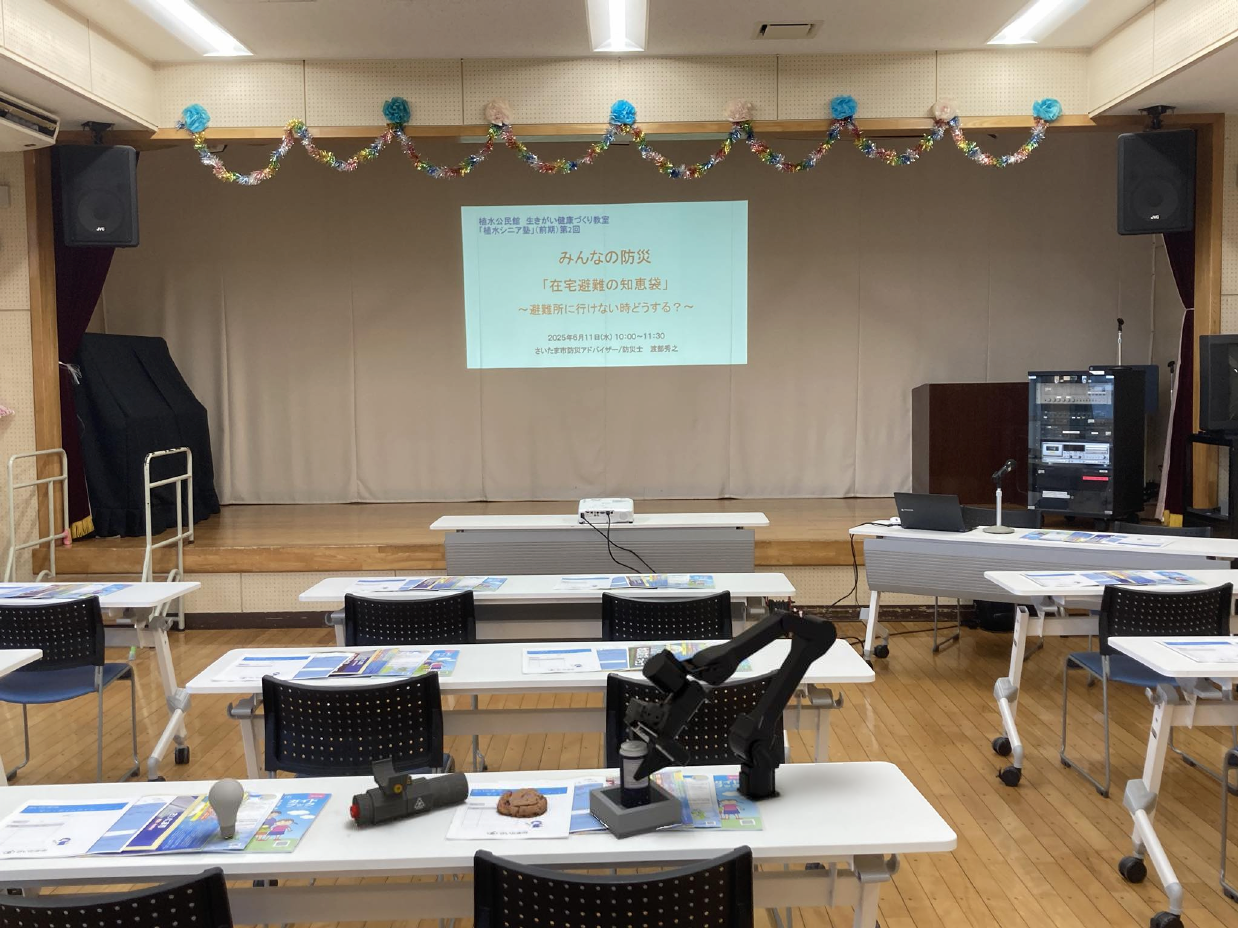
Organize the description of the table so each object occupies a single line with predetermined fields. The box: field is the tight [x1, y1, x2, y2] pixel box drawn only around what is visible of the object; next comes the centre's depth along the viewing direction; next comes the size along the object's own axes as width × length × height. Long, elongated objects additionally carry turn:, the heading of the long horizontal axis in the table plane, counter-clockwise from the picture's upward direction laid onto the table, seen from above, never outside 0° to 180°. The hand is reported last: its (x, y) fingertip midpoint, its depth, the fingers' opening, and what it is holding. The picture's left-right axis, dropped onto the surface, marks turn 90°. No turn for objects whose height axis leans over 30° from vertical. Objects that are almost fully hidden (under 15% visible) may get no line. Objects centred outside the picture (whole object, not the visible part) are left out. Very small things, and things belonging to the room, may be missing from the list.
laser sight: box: [349, 757, 470, 828], centre depth 187 cm, size 10×22×10 cm, turn 122°
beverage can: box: [618, 740, 651, 809], centre depth 182 cm, size 6×6×12 cm
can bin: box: [589, 777, 683, 840], centre depth 183 cm, size 13×13×4 cm
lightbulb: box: [207, 777, 245, 838], centre depth 178 cm, size 6×6×11 cm
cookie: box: [496, 787, 548, 819], centre depth 189 cm, size 10×11×3 cm
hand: (628, 774), depth 182 cm, fingers closed on beverage can, 6 cm apart
